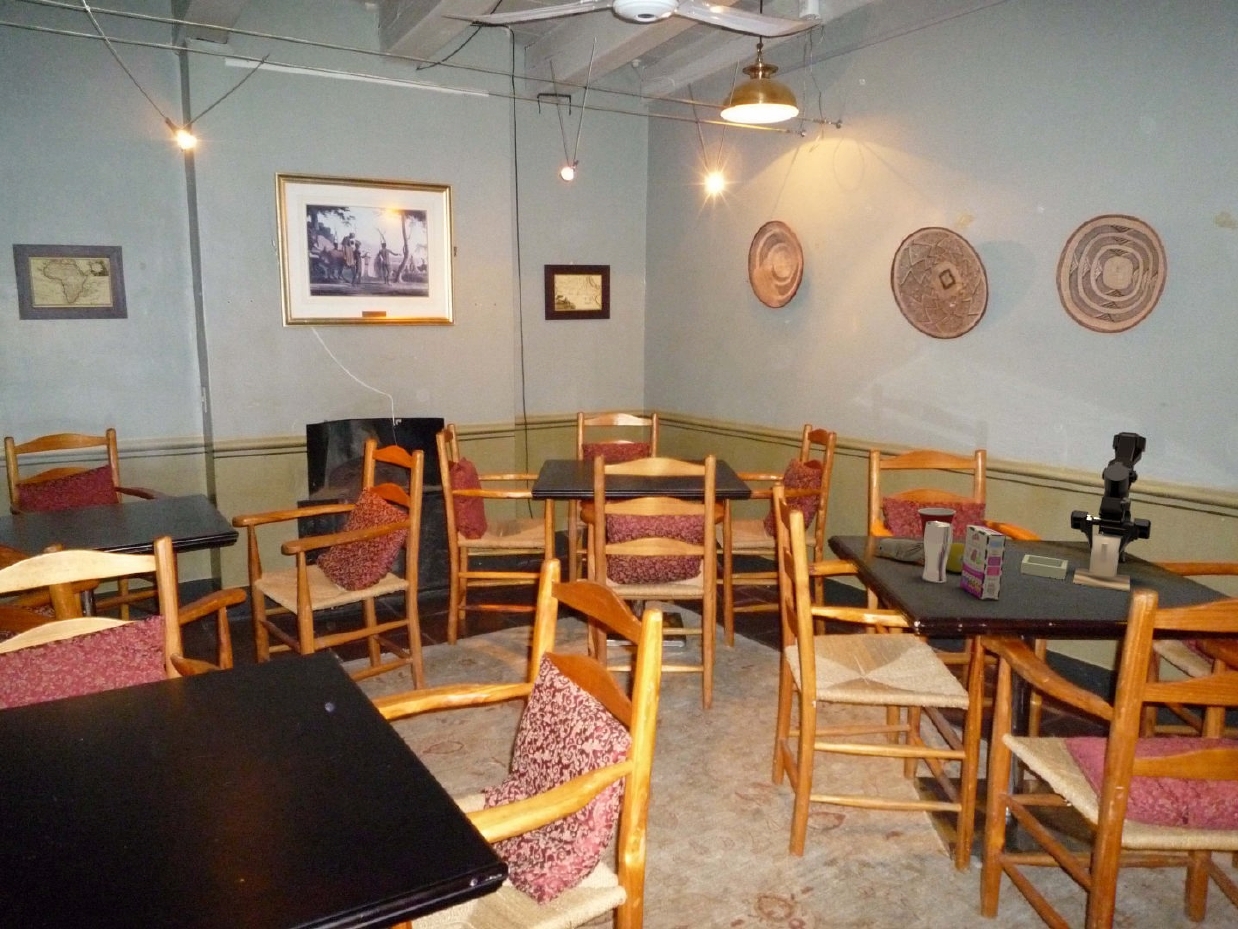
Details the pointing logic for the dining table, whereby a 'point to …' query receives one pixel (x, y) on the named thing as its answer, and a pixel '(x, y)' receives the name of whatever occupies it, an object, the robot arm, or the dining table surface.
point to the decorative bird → (901, 549)
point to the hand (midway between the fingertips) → (1104, 550)
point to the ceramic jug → (1104, 555)
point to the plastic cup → (935, 516)
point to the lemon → (956, 557)
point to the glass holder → (1044, 566)
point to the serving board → (1102, 580)
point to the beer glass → (937, 550)
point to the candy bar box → (983, 562)
